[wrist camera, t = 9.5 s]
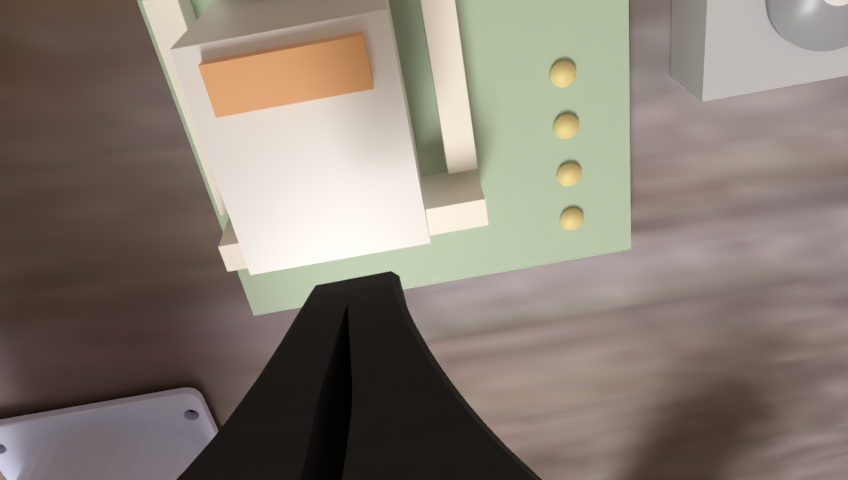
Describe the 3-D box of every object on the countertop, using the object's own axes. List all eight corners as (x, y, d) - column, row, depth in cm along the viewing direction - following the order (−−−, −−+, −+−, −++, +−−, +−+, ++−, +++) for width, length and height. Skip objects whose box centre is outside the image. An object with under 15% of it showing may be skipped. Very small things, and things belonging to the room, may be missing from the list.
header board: (620, 232, 22) (656, 290, 19) (258, 297, 23) (242, 363, 20) (612, -202, 16) (664, -209, 13) (113, -106, 16) (60, -93, 14)
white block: (416, 150, 19) (431, 250, 15) (276, 176, 19) (248, 282, 15) (381, -38, 17) (386, 12, 12) (220, -7, 17) (164, 54, 12)
